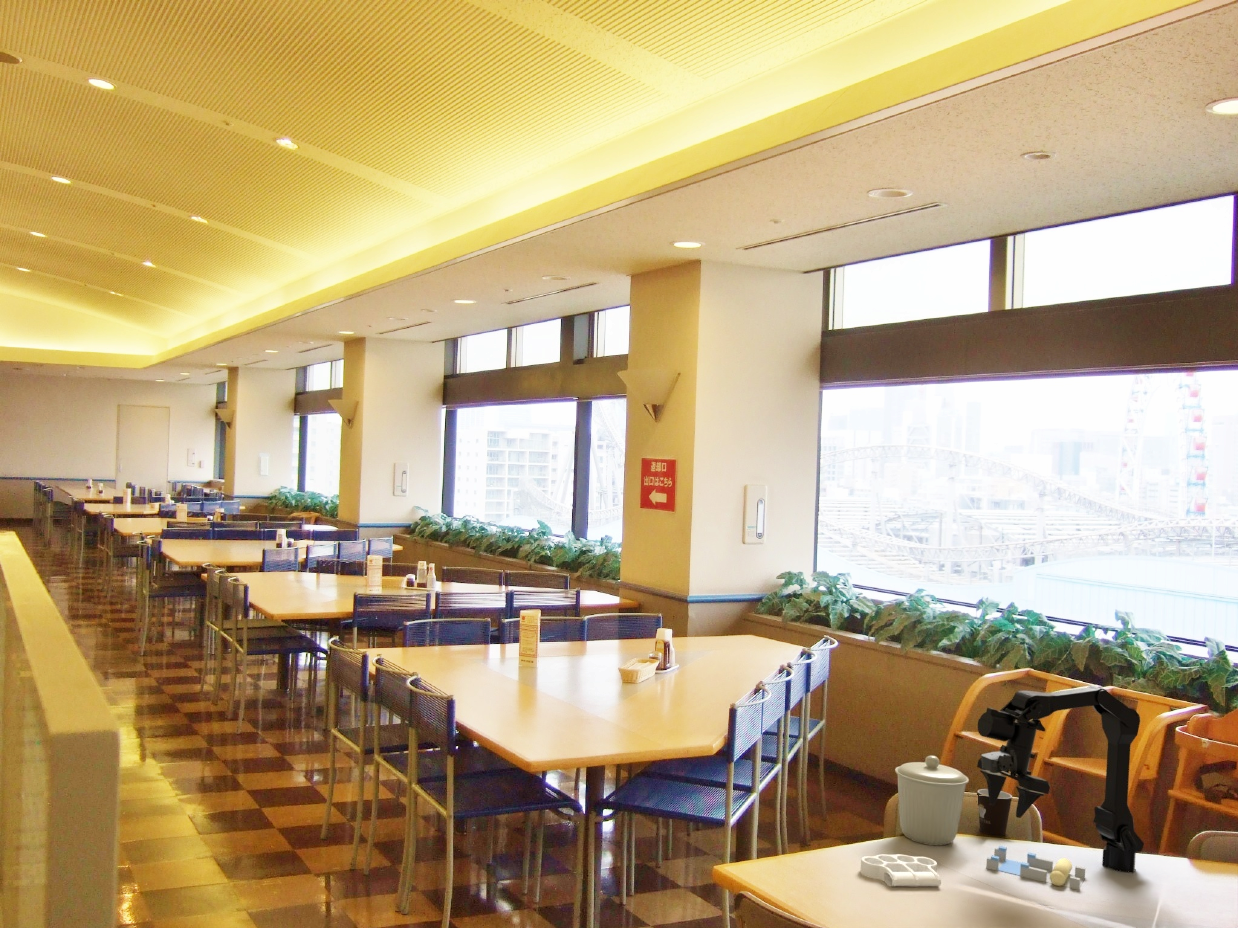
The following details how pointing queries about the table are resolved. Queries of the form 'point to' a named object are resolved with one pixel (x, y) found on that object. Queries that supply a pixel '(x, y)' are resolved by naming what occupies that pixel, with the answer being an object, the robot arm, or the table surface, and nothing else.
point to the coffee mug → (993, 813)
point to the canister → (930, 801)
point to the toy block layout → (1032, 868)
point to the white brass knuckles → (901, 870)
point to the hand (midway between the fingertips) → (1004, 810)
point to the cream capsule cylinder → (1060, 872)
